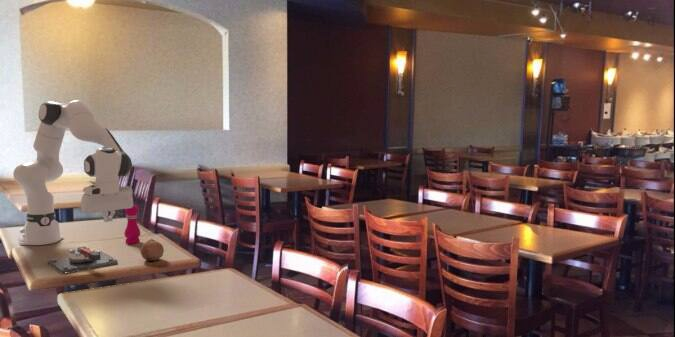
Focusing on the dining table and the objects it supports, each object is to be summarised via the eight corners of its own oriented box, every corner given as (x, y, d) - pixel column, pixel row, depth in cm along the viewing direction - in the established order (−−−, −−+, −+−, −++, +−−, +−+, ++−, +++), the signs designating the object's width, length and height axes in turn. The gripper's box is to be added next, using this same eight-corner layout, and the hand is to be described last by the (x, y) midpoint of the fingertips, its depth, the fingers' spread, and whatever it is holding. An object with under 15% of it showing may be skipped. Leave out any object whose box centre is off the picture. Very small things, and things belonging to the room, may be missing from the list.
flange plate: (47, 263, 233) (47, 258, 233) (101, 254, 248) (101, 249, 248) (61, 274, 220) (61, 268, 220) (117, 263, 235) (117, 258, 235)
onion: (149, 265, 244) (148, 242, 247) (168, 261, 241) (167, 238, 245) (136, 263, 235) (135, 239, 238) (155, 258, 233) (154, 235, 236)
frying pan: (65, 259, 234) (64, 247, 233) (89, 254, 241) (89, 243, 240) (84, 269, 220) (84, 257, 219) (110, 264, 227) (109, 252, 226)
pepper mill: (135, 245, 265) (134, 203, 262) (121, 243, 266) (120, 202, 263) (143, 241, 272) (142, 200, 269) (130, 240, 273) (128, 199, 271)
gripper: (129, 184, 235) (129, 216, 237) (78, 189, 221) (79, 223, 223) (135, 186, 231) (136, 219, 233) (85, 191, 217) (85, 226, 218)
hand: (108, 221), depth 228 cm, fingers closed
